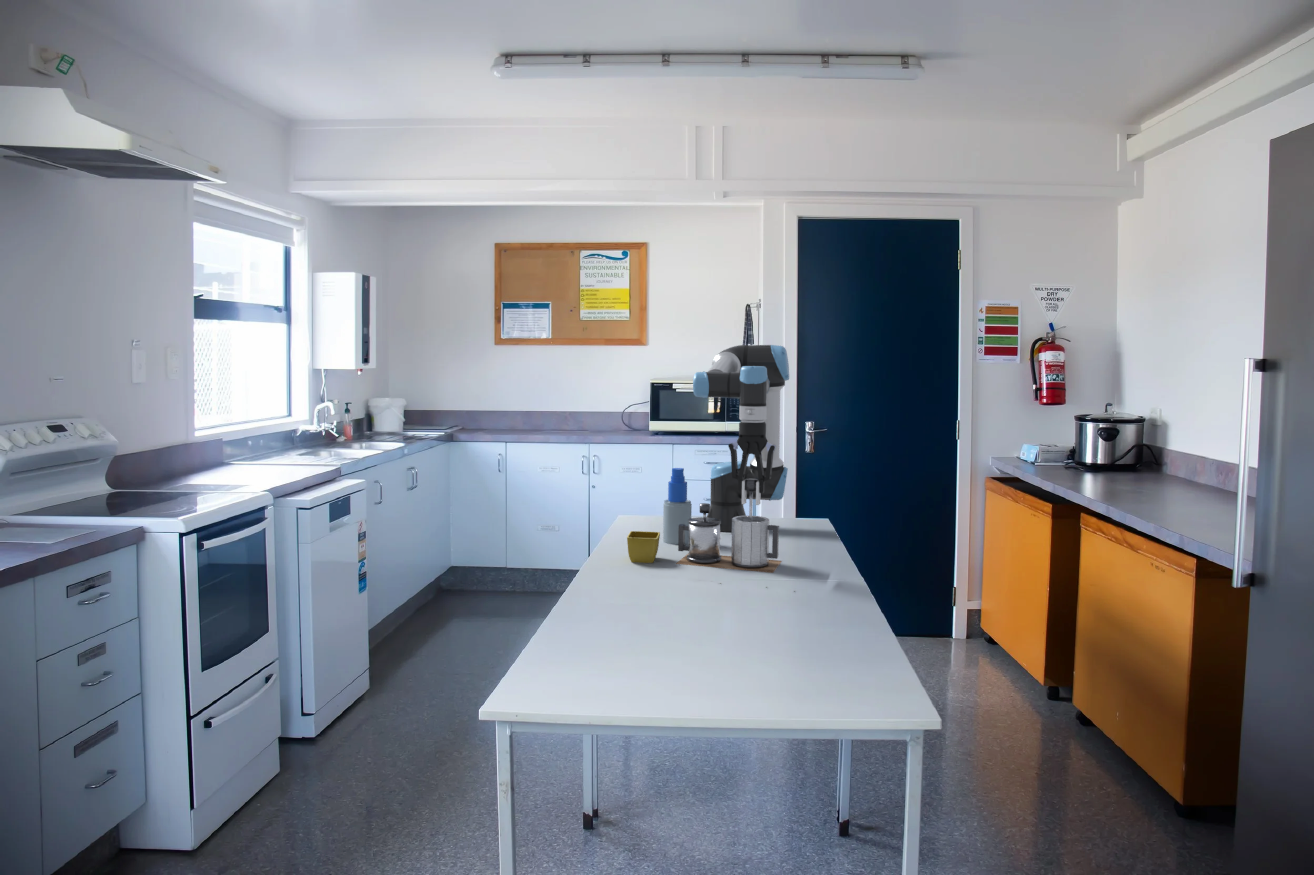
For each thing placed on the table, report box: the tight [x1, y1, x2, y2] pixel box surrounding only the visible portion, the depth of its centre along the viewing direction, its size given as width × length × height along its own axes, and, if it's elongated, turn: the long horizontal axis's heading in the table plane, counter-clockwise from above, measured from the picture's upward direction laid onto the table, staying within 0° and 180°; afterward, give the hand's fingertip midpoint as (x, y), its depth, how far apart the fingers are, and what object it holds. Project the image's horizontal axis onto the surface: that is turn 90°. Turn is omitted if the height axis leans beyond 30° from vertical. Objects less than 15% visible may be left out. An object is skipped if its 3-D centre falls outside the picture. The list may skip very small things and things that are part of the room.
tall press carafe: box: [730, 515, 780, 569], centre depth 229 cm, size 10×13×13 cm
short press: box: [677, 502, 721, 564], centre depth 234 cm, size 10×13×16 cm
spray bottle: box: [662, 467, 692, 546], centre depth 257 cm, size 9×9×25 cm
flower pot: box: [626, 530, 661, 564], centre depth 234 cm, size 9×9×9 cm
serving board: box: [675, 552, 783, 574], centre depth 232 cm, size 14×28×2 cm, turn 71°
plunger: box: [745, 479, 758, 522], centre depth 228 cm, size 7×7×19 cm
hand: (751, 503), depth 228 cm, fingers closed on plunger, 3 cm apart
